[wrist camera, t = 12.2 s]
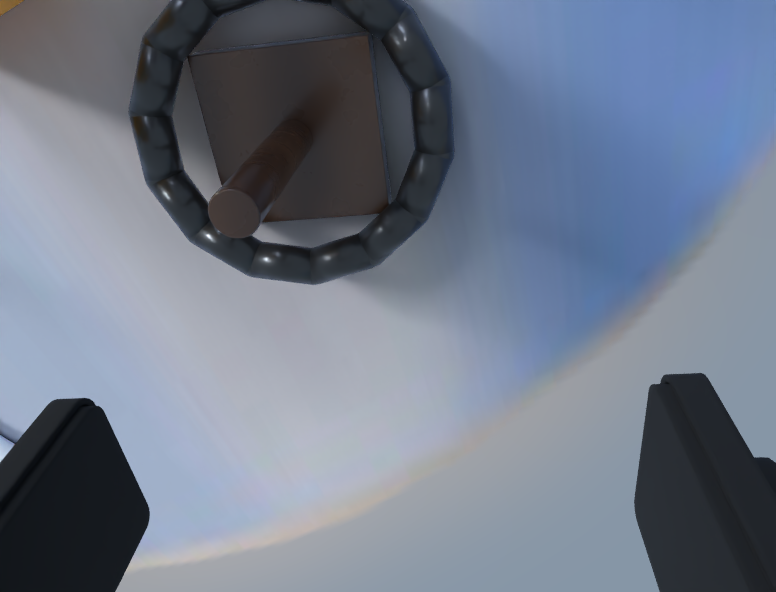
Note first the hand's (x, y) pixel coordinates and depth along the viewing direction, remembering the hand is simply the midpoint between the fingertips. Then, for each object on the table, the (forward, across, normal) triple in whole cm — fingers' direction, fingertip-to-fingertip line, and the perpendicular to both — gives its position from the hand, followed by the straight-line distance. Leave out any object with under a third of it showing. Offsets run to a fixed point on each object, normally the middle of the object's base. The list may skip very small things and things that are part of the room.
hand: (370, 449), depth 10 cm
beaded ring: (+22, +6, 0) cm, 23 cm away
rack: (+24, +6, +1) cm, 25 cm away
